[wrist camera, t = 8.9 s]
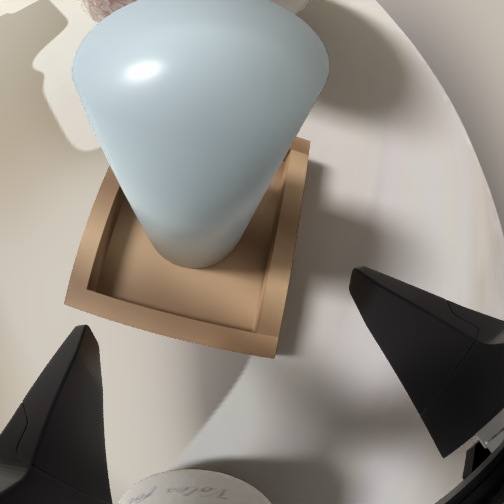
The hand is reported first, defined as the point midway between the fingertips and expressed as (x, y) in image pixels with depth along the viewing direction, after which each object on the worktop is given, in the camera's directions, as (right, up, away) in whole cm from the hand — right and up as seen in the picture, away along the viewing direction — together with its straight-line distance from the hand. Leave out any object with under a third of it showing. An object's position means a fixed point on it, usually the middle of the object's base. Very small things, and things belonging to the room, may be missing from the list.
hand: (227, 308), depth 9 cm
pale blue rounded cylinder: (-3, +4, +9) cm, 10 cm away
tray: (-3, +4, +10) cm, 11 cm away
